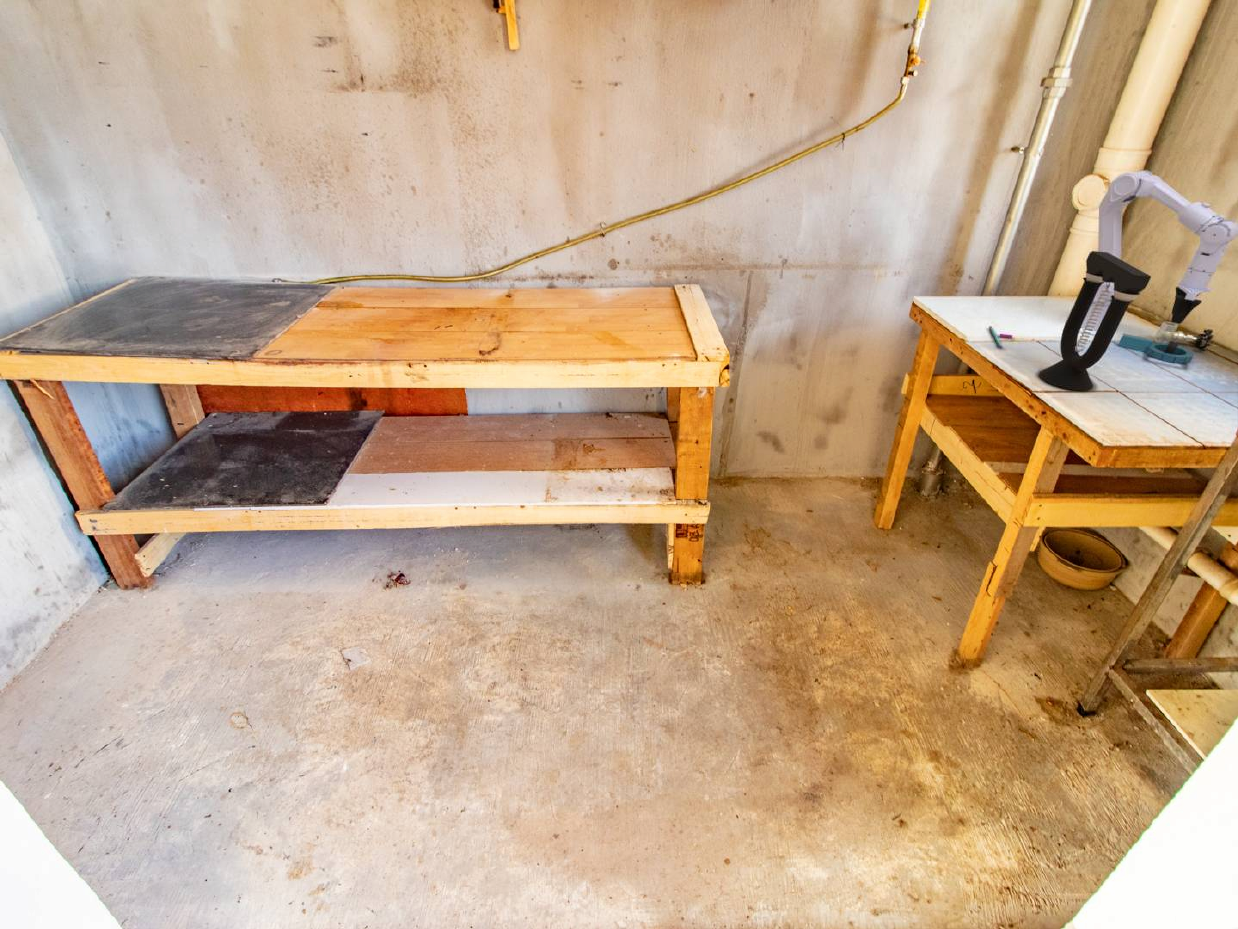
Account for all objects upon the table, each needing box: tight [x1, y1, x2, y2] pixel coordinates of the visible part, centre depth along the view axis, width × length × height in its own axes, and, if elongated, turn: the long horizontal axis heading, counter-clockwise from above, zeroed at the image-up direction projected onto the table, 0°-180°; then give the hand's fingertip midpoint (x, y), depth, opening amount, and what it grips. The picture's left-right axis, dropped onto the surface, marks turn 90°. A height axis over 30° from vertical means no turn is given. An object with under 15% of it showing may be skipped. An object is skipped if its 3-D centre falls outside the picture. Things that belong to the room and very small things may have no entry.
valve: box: [1153, 321, 1214, 352], centre depth 185 cm, size 7×7×12 cm
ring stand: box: [1146, 340, 1188, 367], centre depth 178 cm, size 9×9×6 cm
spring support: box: [1038, 250, 1152, 391], centre depth 160 cm, size 21×12×30 cm, turn 172°
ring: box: [1117, 333, 1194, 365], centre depth 180 cm, size 17×10×3 cm, turn 53°
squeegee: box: [988, 325, 1013, 349], centre depth 189 cm, size 15×1×5 cm
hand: (1175, 318), depth 178 cm, fingers open, 7 cm apart
